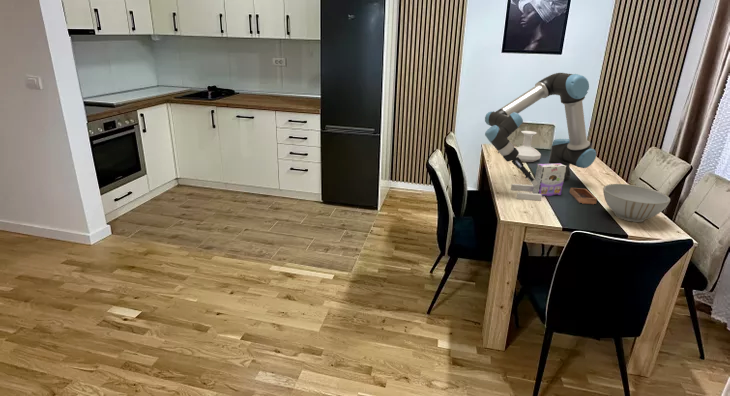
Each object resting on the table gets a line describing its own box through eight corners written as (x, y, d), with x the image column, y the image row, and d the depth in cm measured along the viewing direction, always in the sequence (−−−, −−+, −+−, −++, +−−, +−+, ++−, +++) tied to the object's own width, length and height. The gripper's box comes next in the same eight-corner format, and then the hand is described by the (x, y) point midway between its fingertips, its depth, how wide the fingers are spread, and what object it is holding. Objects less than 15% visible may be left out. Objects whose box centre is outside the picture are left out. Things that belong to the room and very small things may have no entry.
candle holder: (542, 159, 296) (547, 132, 289) (536, 165, 280) (541, 136, 273) (513, 154, 306) (517, 128, 299) (505, 160, 290) (510, 132, 283)
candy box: (554, 191, 232) (560, 162, 226) (561, 195, 226) (567, 166, 220) (531, 192, 229) (537, 163, 223) (537, 196, 224) (543, 166, 218)
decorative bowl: (637, 232, 184) (644, 206, 180) (585, 210, 207) (590, 186, 203) (676, 224, 195) (684, 199, 190) (622, 203, 218) (628, 181, 213)
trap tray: (584, 193, 230) (585, 188, 229) (595, 204, 215) (597, 199, 214) (569, 192, 231) (570, 187, 230) (579, 203, 216) (580, 197, 215)
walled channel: (533, 190, 233) (534, 185, 232) (540, 200, 218) (542, 195, 217) (510, 188, 234) (511, 183, 233) (516, 199, 219) (517, 193, 218)
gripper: (500, 153, 226) (527, 184, 230) (504, 159, 214) (532, 193, 218) (511, 143, 223) (538, 176, 228) (517, 149, 211) (545, 184, 216)
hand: (536, 184), depth 223 cm, fingers closed
